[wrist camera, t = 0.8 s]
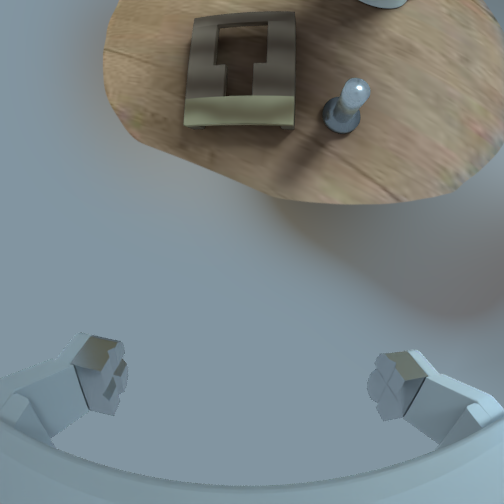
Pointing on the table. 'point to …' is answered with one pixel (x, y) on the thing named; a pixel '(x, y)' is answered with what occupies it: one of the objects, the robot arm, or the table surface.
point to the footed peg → (346, 106)
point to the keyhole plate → (264, 75)
